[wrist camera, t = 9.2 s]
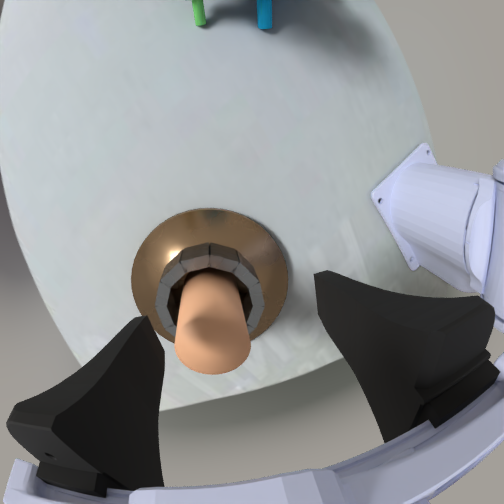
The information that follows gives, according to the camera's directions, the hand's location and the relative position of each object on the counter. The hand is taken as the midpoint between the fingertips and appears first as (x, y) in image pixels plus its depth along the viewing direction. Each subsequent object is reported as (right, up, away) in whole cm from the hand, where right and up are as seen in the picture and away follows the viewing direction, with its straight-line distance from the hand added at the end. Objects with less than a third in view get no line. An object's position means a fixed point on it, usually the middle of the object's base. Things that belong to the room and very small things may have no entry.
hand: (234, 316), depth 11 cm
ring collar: (-3, 0, +10) cm, 10 cm away
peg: (-2, 0, +9) cm, 9 cm away
